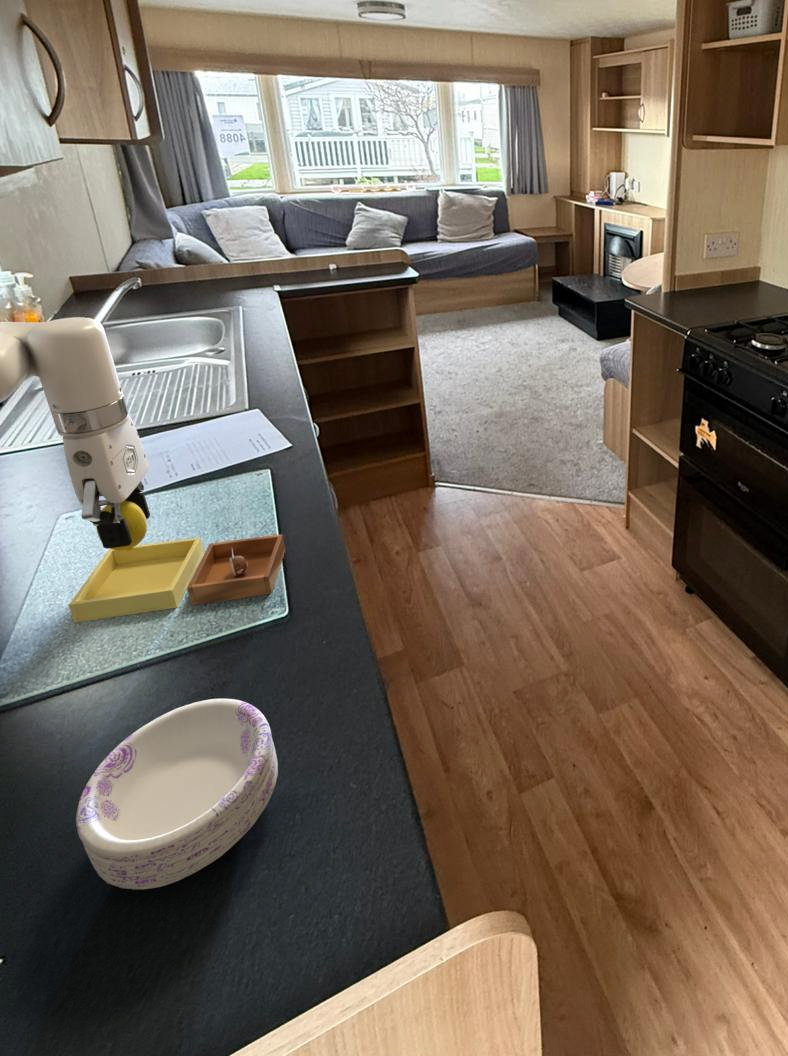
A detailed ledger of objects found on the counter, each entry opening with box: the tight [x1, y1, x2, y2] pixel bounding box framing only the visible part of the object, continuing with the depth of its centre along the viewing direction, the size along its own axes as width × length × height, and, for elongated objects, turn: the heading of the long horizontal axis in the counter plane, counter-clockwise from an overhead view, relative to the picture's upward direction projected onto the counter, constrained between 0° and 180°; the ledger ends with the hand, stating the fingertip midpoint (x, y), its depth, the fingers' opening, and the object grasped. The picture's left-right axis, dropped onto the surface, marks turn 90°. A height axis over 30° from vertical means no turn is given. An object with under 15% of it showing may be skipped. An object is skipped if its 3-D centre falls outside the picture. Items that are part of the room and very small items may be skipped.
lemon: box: [95, 501, 148, 551], centre depth 89 cm, size 6×6×8 cm
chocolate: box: [230, 549, 248, 576], centre depth 94 cm, size 3×2×4 cm
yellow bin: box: [68, 537, 205, 624], centre depth 93 cm, size 12×12×3 cm
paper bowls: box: [75, 698, 279, 891], centre depth 61 cm, size 15×15×8 cm
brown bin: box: [186, 533, 287, 606], centre depth 95 cm, size 10×10×3 cm
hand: (128, 531), depth 90 cm, fingers closed on lemon, 5 cm apart
